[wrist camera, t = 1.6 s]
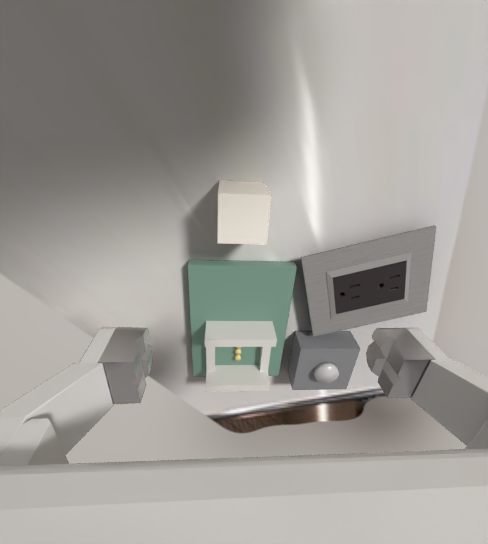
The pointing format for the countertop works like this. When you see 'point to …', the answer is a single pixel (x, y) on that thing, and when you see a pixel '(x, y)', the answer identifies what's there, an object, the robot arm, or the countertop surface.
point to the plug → (243, 212)
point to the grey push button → (322, 360)
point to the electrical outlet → (369, 281)
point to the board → (239, 321)
